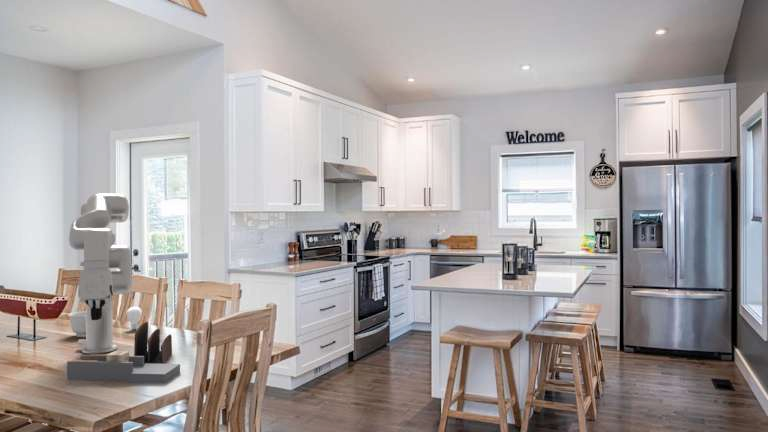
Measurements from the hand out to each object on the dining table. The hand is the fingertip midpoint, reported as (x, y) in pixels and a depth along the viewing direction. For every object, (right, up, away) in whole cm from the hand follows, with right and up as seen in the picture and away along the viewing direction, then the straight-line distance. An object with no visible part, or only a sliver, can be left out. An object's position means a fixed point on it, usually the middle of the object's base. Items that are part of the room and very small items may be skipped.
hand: (96, 319), depth 188 cm
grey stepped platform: (+9, -20, 0) cm, 22 cm away
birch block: (+7, -16, 0) cm, 18 cm away
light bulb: (-20, -19, +74) cm, 79 cm away
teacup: (-37, -19, +60) cm, 73 cm away
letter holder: (+11, -20, +20) cm, 31 cm away
